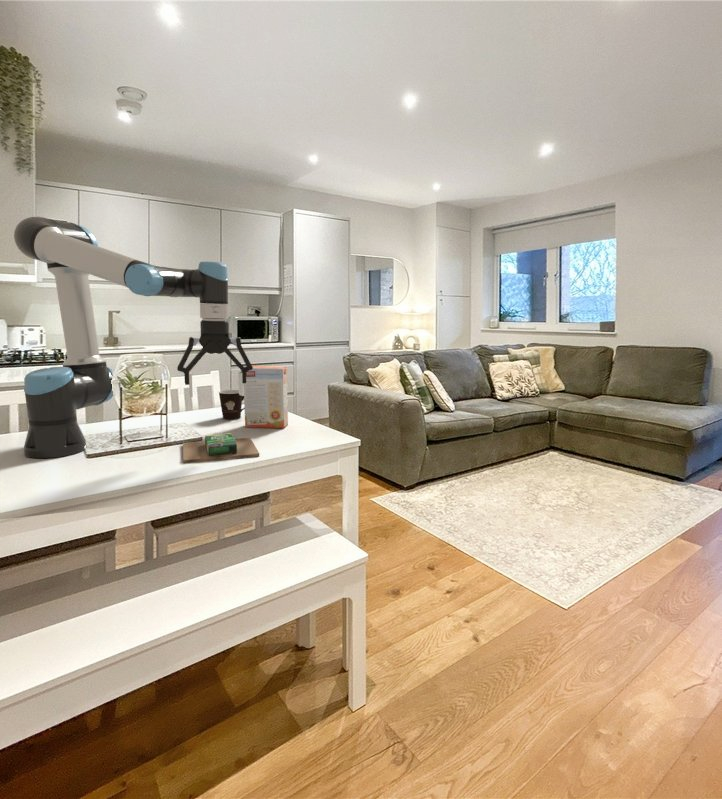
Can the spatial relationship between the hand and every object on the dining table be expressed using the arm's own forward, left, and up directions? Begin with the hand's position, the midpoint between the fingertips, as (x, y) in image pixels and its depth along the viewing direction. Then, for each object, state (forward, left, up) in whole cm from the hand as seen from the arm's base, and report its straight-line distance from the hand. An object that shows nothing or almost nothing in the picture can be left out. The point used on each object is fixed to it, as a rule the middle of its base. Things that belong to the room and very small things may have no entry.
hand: (216, 395), depth 141 cm
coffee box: (0, -8, -14) cm, 16 cm away
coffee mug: (+9, +42, -17) cm, 46 cm away
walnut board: (0, 0, -16) cm, 16 cm away
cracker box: (+18, +26, -17) cm, 36 cm away
